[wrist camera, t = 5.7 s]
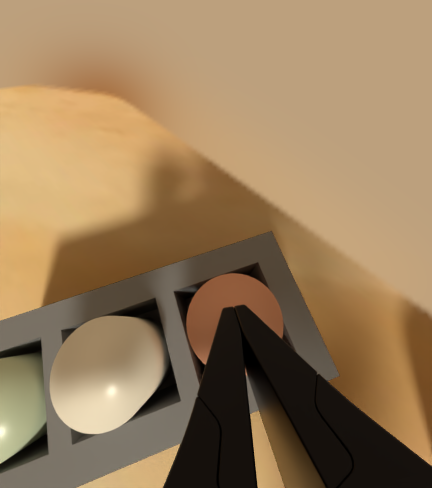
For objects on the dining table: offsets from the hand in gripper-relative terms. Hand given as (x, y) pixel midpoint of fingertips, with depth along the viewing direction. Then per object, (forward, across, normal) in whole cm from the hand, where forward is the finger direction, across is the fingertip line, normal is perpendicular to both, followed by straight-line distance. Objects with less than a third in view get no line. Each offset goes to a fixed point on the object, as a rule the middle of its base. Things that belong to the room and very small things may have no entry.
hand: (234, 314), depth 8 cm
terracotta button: (+4, 0, +5) cm, 6 cm away
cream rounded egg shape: (+4, +6, +5) cm, 9 cm away
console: (+7, +6, +9) cm, 13 cm away
